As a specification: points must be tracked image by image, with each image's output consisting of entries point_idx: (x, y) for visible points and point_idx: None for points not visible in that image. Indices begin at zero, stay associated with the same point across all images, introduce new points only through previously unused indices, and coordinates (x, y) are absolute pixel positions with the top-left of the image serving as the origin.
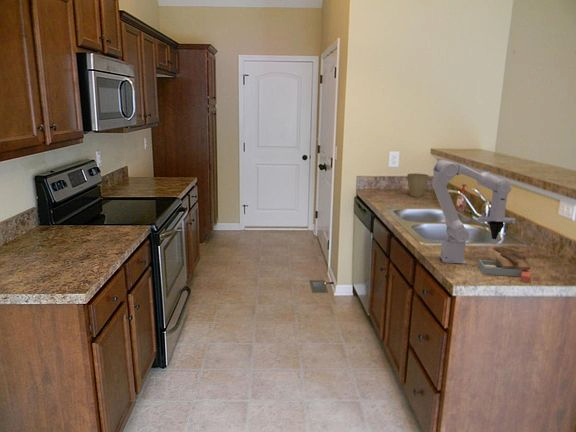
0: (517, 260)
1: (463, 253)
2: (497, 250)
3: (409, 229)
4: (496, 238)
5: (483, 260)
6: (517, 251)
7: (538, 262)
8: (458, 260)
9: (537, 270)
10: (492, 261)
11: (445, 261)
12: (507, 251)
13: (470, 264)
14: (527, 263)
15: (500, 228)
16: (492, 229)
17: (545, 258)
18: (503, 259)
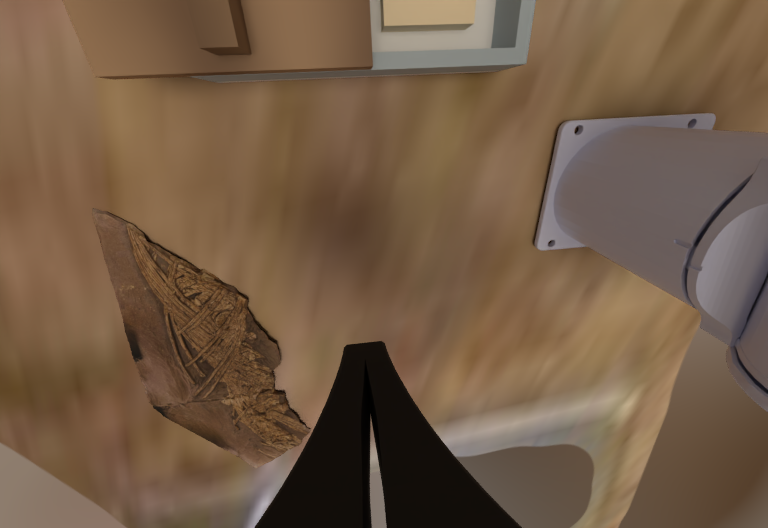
0: (139, 30)
1: (626, 161)
2: (289, 411)
3: (585, 517)
4: (343, 351)
5: (487, 54)
6: (181, 423)
7: (38, 290)
8: (626, 127)
9: (7, 89)
10: (404, 51)
11: (704, 116)
12: (237, 410)
13: (529, 122)
14: (109, 242)
15: (290, 514)
16: (454, 457)
17: (8, 372)
18: (299, 35)
